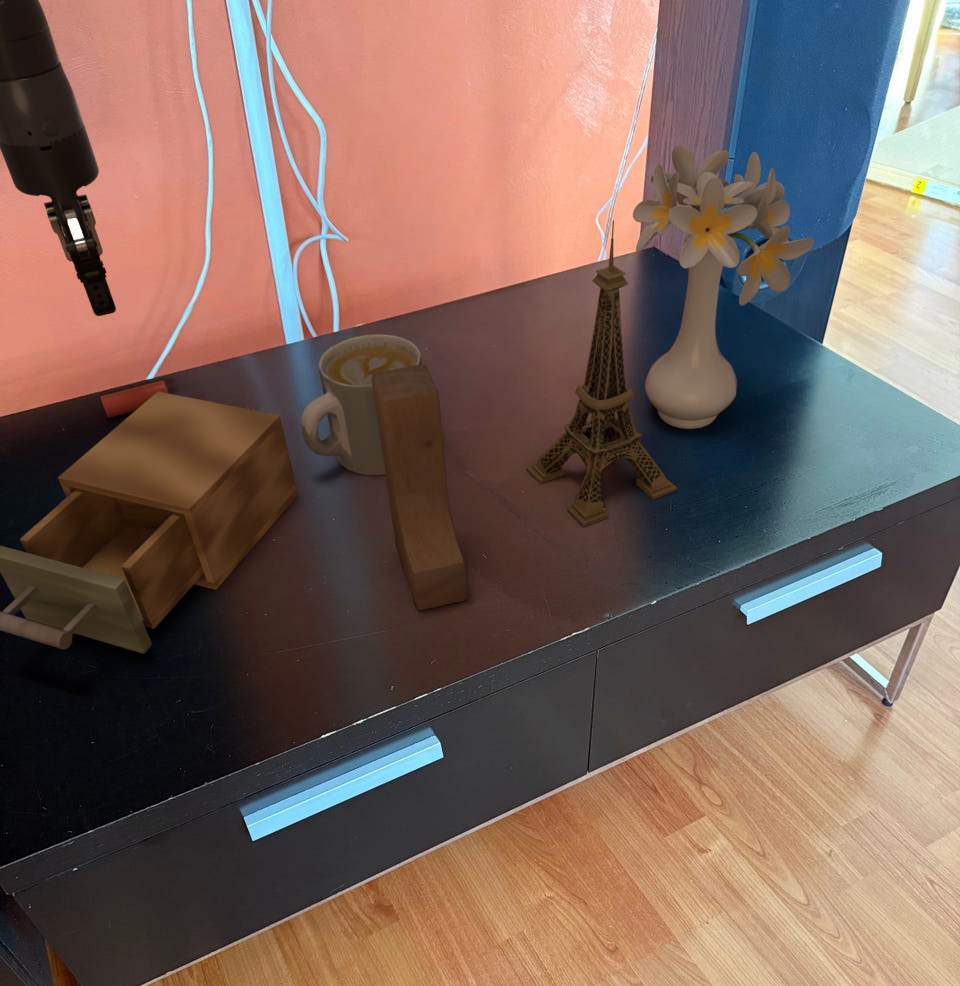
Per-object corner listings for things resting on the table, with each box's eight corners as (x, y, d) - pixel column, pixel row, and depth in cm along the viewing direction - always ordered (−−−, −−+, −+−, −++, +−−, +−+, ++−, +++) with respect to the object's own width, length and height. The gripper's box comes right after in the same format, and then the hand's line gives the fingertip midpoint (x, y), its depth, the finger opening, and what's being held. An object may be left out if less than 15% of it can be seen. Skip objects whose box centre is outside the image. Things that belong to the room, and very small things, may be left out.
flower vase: (713, 479, 92) (755, 217, 74) (589, 400, 103) (599, 154, 85) (805, 430, 97) (864, 174, 79) (678, 360, 108) (704, 120, 90)
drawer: (108, 695, 75) (75, 630, 70) (-14, 656, 79) (-53, 591, 73) (233, 552, 86) (213, 487, 81) (122, 524, 90) (96, 460, 85)
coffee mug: (403, 410, 103) (393, 324, 96) (447, 454, 97) (439, 366, 90) (289, 450, 99) (269, 363, 92) (327, 499, 93) (308, 409, 86)
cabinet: (216, 590, 84) (188, 508, 78) (93, 557, 88) (57, 477, 82) (298, 495, 93) (280, 415, 87) (183, 469, 98) (157, 391, 91)
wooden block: (468, 601, 82) (454, 420, 69) (417, 612, 81) (393, 432, 68) (443, 537, 88) (425, 361, 75) (395, 548, 87) (369, 371, 74)
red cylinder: (108, 419, 104) (100, 398, 103) (107, 415, 106) (99, 394, 105) (172, 403, 106) (164, 381, 105) (169, 399, 108) (162, 378, 107)
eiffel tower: (614, 437, 98) (630, 184, 80) (676, 490, 91) (709, 227, 73) (525, 469, 95) (521, 214, 77) (583, 527, 88) (593, 261, 70)
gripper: (-11, 113, 87) (60, 294, 100) (0, 158, 78) (75, 349, 91) (73, 98, 89) (132, 277, 101) (92, 140, 80) (153, 330, 93)
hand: (105, 311), depth 96 cm, fingers closed
